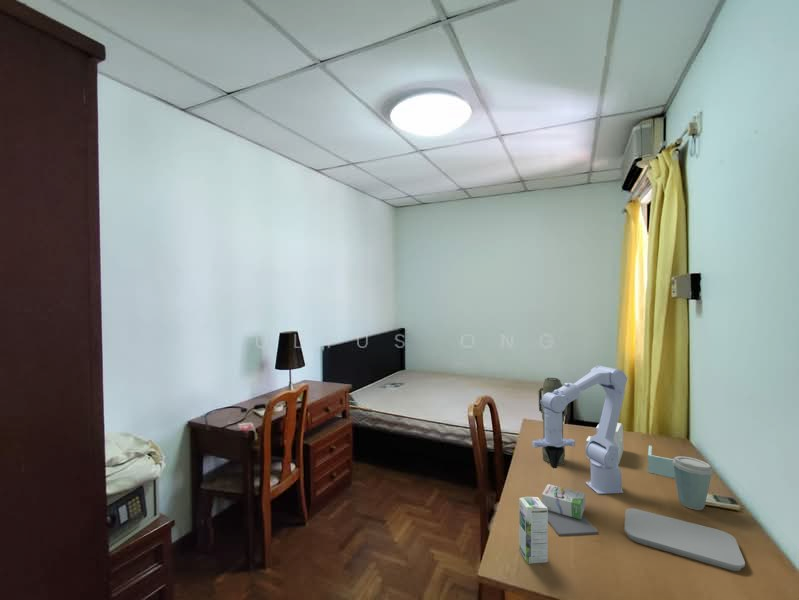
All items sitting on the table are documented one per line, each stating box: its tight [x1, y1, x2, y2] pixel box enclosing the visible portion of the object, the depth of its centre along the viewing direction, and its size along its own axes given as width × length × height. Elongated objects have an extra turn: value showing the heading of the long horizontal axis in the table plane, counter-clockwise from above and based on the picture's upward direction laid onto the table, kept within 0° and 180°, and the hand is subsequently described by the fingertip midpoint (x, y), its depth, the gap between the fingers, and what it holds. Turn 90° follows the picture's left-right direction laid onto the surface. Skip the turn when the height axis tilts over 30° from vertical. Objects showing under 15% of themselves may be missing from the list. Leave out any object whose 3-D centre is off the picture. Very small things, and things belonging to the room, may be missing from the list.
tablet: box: [624, 508, 746, 572], centre depth 104 cm, size 16×26×2 cm, turn 57°
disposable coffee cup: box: [672, 455, 714, 511], centre depth 121 cm, size 11×11×15 cm
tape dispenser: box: [585, 422, 624, 466], centre depth 161 cm, size 12×18×14 cm, turn 143°
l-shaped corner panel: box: [647, 445, 676, 480], centre depth 146 cm, size 12×12×8 cm
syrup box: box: [518, 496, 549, 565], centre depth 98 cm, size 6×6×14 cm
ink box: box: [541, 483, 586, 520], centre depth 119 cm, size 8×5×12 cm
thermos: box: [538, 377, 568, 466], centre depth 156 cm, size 9×12×35 cm
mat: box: [548, 510, 599, 537], centre depth 113 cm, size 12×13×1 cm
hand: (553, 467), depth 127 cm, fingers closed
